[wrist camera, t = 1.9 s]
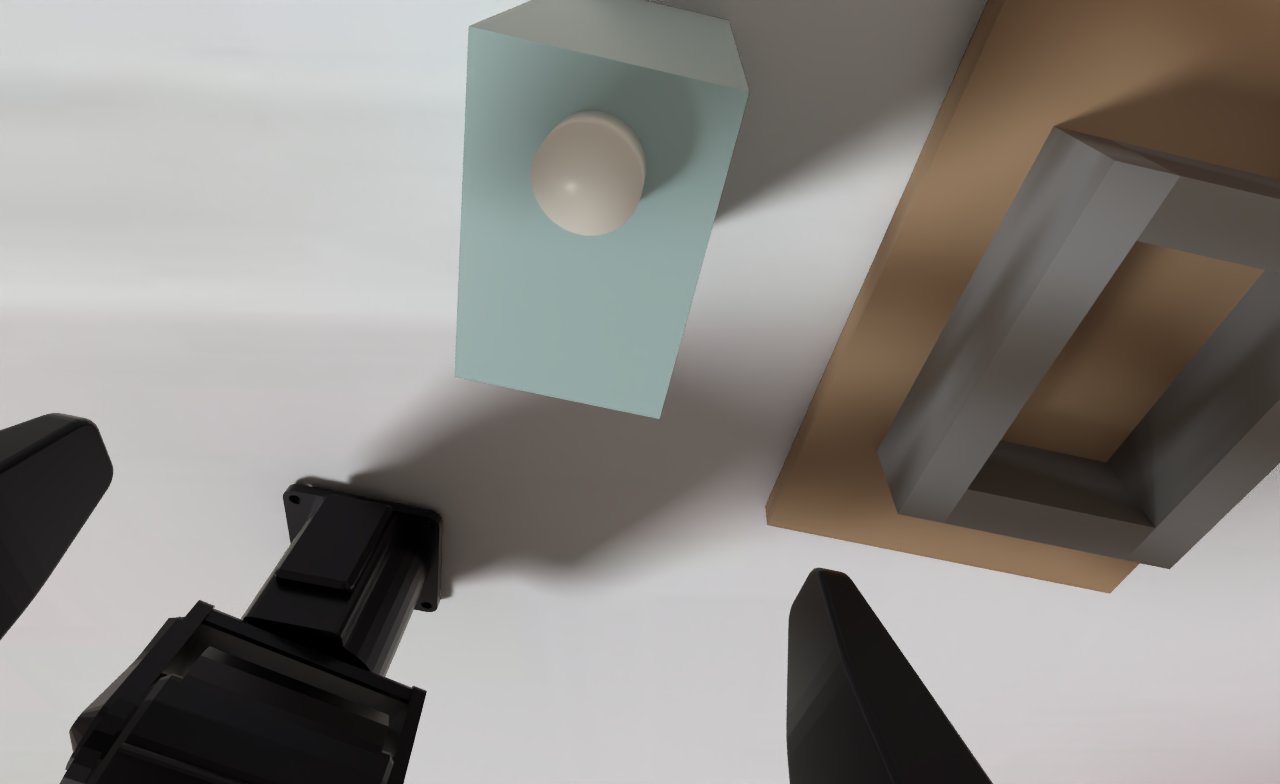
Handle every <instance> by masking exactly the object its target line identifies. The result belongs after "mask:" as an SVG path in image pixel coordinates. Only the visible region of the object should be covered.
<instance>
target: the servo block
mask: <svg viewBox="0 0 1280 784" xmlns="http://www.w3.org/2000/svg"><path fill="white" fill-rule="evenodd" d="M749 92H750V91H749V88H748V85H747V81H746V78H745V75H744V71H743V68H742V64H741V61H740V58H739V54H738V51H737V48H736V44H735V41H734V37H733V34H732V31H731V27H730V24H729V21H728V20H725V19H721V18H717V17H712V16H708V15H704V14H700V13H696V12H692V11H687V10H683V9H679V8H675V7H671V6H666V5H662V4H658V3H654V2H650V1H645V0H531V1H529V2H526V3H524V4H521V5H519V6H516V7H514V8H512V9H509V10H507V11H504V12H502V13H500V14H497V15H495V16H492V17H490V18H487V19H485V20H483V21H480V22H478V23H475V24H473V25H471V26H469V33H468V58H467V83H466V108H465V133H464V157H463V182H462V207H461V232H460V257H459V282H458V307H457V332H456V357H455V377H457V378H462V379H467V380H472V381H477V382H482V383H487V384H491V385H496V386H501V387H506V388H511V389H516V390H521V391H525V392H530V393H535V394H540V395H545V396H550V397H555V398H559V399H564V400H569V401H574V402H579V403H584V404H589V405H593V406H598V407H603V408H608V409H613V410H618V411H623V412H628V413H632V414H637V415H642V416H647V417H652V418H657V419H660V416H661V412H662V408H663V405H664V401H665V397H666V394H667V390H668V387H669V383H670V379H671V376H672V372H673V368H674V365H675V361H676V357H677V354H678V350H679V347H680V343H681V339H682V336H683V332H684V328H685V325H686V321H687V318H688V314H689V310H690V307H691V303H692V299H693V296H694V292H695V288H696V285H697V281H698V278H699V274H700V270H701V267H702V263H703V259H704V256H705V252H706V248H707V245H708V241H709V238H710V234H711V230H712V227H713V223H714V219H715V216H716V212H717V209H718V205H719V201H720V198H721V194H722V190H723V187H724V183H725V179H726V176H727V172H728V169H729V165H730V161H731V158H732V154H733V150H734V147H735V143H736V139H737V136H738V132H739V129H740V125H741V121H742V118H743V114H744V110H745V107H746V103H747V100H748V96H749Z"/></svg>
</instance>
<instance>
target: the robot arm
mask: <svg viewBox="0 0 1280 784" xmlns="http://www.w3.org/2000/svg"><path fill="white" fill-rule="evenodd" d="M112 477H113V465H112V462H111V460H110V457H109V455H108V452H107V450H106V447H105V445H104V442H103V439H102V437H101V434H100V432H99V429H98V427H97V426H96V424H95V423H93V422H92V421H91V420H89V419H86V418H81V417H76V416H72V415H67V414H61V413H51V414H46V415H43V416H40V417H37V418H34V419H32V420H29V421H26V422H23V423H20V424H17V425H14V426H12V427H9V428H6V429H3V430H0V640H1V639H2V637H3V636H4V635H5V634H6V633H7V631H8V630H9V629H10V628H11V626H12V625H13V624H14V623H15V622H16V620H17V619H18V618H19V617H20V615H21V614H22V613H23V612H24V610H25V609H26V608H27V607H28V605H29V604H30V603H31V601H32V600H33V599H34V598H35V596H36V595H37V593H38V592H39V591H40V589H41V588H42V586H43V585H44V583H45V582H46V581H47V579H48V578H49V576H50V575H51V573H52V572H53V570H54V569H55V567H56V566H57V564H58V563H59V561H60V560H61V558H62V557H63V555H64V554H65V552H66V551H67V549H68V548H69V546H70V545H71V543H72V542H73V540H74V539H75V537H76V536H77V534H78V533H79V531H80V530H81V528H82V527H83V525H84V524H85V522H86V521H87V519H88V518H89V516H90V515H91V513H92V512H93V510H94V509H95V507H96V506H97V504H98V503H99V501H100V500H101V498H102V497H103V495H104V494H105V492H106V491H107V489H108V487H109V485H110V483H111V481H112ZM283 501H284V507H285V512H286V518H287V524H288V530H289V536H290V542H291V545H290V546H289V548H288V549H287V551H286V552H285V554H284V555H283V557H282V558H281V560H280V561H279V563H278V564H277V566H276V567H275V569H274V570H273V572H272V573H271V575H270V576H269V578H268V579H267V581H266V582H265V584H264V585H263V587H262V588H261V590H260V591H259V593H258V594H257V596H256V597H255V599H254V600H253V602H252V603H251V605H250V606H249V608H248V609H247V611H246V612H245V614H244V615H243V616H242V618H241V619H238V618H236V617H233V616H231V615H228V614H226V613H223V612H221V611H218V610H216V609H214V607H215V606H213V605H211V604H208V603H206V602H204V601H201V600H199V601H198V602H197V603H196V605H195V606H194V607H193V608H192V609H191V610H190V612H189V613H188V614H187V615H186V616H185V617H178V618H169V619H168V620H167V621H166V622H165V624H164V625H163V626H162V628H161V629H160V630H159V631H158V633H157V634H156V635H155V637H154V638H153V639H152V640H151V642H150V643H149V644H148V646H147V647H146V648H145V649H144V651H143V652H142V653H141V654H140V655H139V657H138V658H137V659H136V660H135V661H134V662H133V663H132V664H131V665H130V666H129V667H128V668H127V669H126V670H125V671H124V672H123V673H122V674H121V675H120V676H119V677H118V678H117V679H116V680H115V681H114V682H113V683H112V684H111V685H110V686H109V687H108V688H107V689H106V690H105V691H104V692H103V693H102V694H101V695H100V696H99V697H98V698H97V699H96V700H95V701H94V702H93V703H91V704H90V705H89V706H88V707H87V708H86V709H85V710H84V711H83V712H82V713H81V715H80V716H79V717H78V718H77V720H76V721H75V723H74V724H73V726H72V727H71V729H70V731H69V733H70V738H71V744H72V749H73V754H72V756H71V757H70V759H69V761H68V763H67V766H66V770H67V772H66V773H65V775H64V777H63V779H62V780H61V782H60V784H403V783H404V779H405V775H406V771H407V767H408V763H409V759H410V755H411V751H412V747H413V743H414V740H415V736H416V732H417V728H418V724H419V720H420V716H421V712H422V708H423V704H424V700H425V696H426V692H427V691H425V690H423V689H420V688H418V687H415V686H413V687H412V688H411V687H408V686H406V685H403V684H401V683H398V682H396V681H393V680H391V679H388V678H386V677H385V676H386V673H387V671H388V669H389V666H390V664H391V662H392V659H393V657H394V654H395V652H396V650H397V647H398V645H399V643H400V640H401V638H402V636H403V633H404V631H405V629H406V626H407V624H408V621H409V619H410V617H411V614H412V612H413V610H420V611H425V612H433V611H435V610H436V609H437V607H438V604H439V602H440V587H441V556H442V524H443V520H442V517H441V516H440V514H438V513H437V512H435V511H432V510H427V509H422V508H417V507H412V506H407V505H402V504H397V503H391V502H386V501H381V500H376V499H371V498H366V497H361V496H356V495H351V494H345V493H340V492H335V491H330V490H325V489H320V488H315V487H310V486H305V485H300V484H293V485H290V486H289V487H288V489H287V490H286V491H285V493H284V494H283ZM428 521H429V522H428ZM787 755H788V768H789V779H790V784H993V783H992V782H991V780H990V779H989V777H988V776H987V774H986V773H985V771H984V770H983V769H982V767H981V766H980V764H979V763H978V761H977V760H976V758H975V757H974V756H973V754H972V753H971V751H970V750H969V748H968V747H967V746H966V744H965V743H964V741H963V740H962V738H961V737H960V735H959V734H958V733H957V731H956V730H955V728H954V727H953V725H952V724H951V722H950V721H949V720H948V718H947V717H946V715H945V714H944V712H943V711H942V710H941V708H940V707H939V705H938V704H937V702H936V701H935V699H934V698H933V697H932V695H931V694H930V692H929V691H928V689H927V688H926V686H925V685H924V684H923V682H922V681H921V679H920V678H919V676H918V675H917V673H916V672H915V671H914V669H913V668H912V666H911V665H910V663H909V662H908V661H907V659H906V658H905V656H904V655H903V653H902V652H901V650H900V649H899V648H898V646H897V645H896V643H895V642H894V640H893V639H892V637H891V636H890V635H889V633H888V632H887V630H886V629H885V627H884V626H883V624H882V623H881V622H880V620H879V619H878V617H877V616H876V614H875V613H874V612H873V610H872V609H871V607H870V606H869V604H868V603H867V601H866V600H865V599H864V597H863V596H862V594H861V593H860V591H859V590H858V588H857V587H856V586H855V584H854V583H853V581H852V580H851V579H850V577H848V576H847V575H846V574H845V573H842V572H838V571H833V570H829V569H824V568H815V569H813V570H812V571H811V572H810V574H809V575H808V577H807V579H806V581H805V583H804V584H803V586H802V588H801V590H800V592H799V593H798V595H797V597H796V599H795V600H794V602H793V604H792V607H791V610H790V615H789V628H788V674H787Z"/></svg>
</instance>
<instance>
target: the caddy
mask: <svg viewBox="0 0 1280 784" xmlns="http://www.w3.org/2000/svg"><path fill="white" fill-rule="evenodd" d="M1279 463H1280V0H988V2H987V4H986V6H985V9H984V11H983V13H982V15H981V18H980V20H979V22H978V25H977V27H976V29H975V31H974V34H973V36H972V38H971V40H970V43H969V45H968V47H967V50H966V52H965V54H964V56H963V59H962V61H961V63H960V65H959V68H958V70H957V72H956V75H955V77H954V79H953V81H952V84H951V86H950V88H949V90H948V93H947V95H946V97H945V100H944V102H943V104H942V106H941V109H940V111H939V113H938V115H937V118H936V120H935V122H934V124H933V127H932V129H931V131H930V134H929V136H928V138H927V140H926V143H925V145H924V147H923V149H922V152H921V154H920V156H919V159H918V161H917V163H916V165H915V168H914V170H913V172H912V174H911V177H910V179H909V181H908V184H907V186H906V188H905V190H904V193H903V195H902V197H901V199H900V202H899V204H898V206H897V208H896V211H895V213H894V215H893V218H892V220H891V222H890V224H889V227H888V229H887V231H886V233H885V236H884V238H883V240H882V243H881V245H880V247H879V249H878V252H877V254H876V256H875V258H874V261H873V263H872V265H871V268H870V270H869V272H868V274H867V277H866V279H865V281H864V283H863V286H862V288H861V290H860V293H859V295H858V297H857V299H856V302H855V304H854V306H853V308H852V311H851V313H850V315H849V317H848V320H847V322H846V324H845V327H844V329H843V331H842V333H841V336H840V338H839V340H838V342H837V345H836V347H835V349H834V352H833V354H832V356H831V358H830V361H829V363H828V365H827V367H826V370H825V372H824V374H823V377H822V379H821V381H820V383H819V386H818V388H817V390H816V392H815V395H814V397H813V399H812V401H811V404H810V406H809V408H808V411H807V413H806V415H805V417H804V420H803V422H802V424H801V426H800V429H799V431H798V433H797V436H796V438H795V440H794V442H793V445H792V447H791V449H790V451H789V454H788V456H787V458H786V461H785V463H784V465H783V467H782V470H781V472H780V474H779V476H778V479H777V481H776V483H775V486H774V488H773V490H772V492H771V495H770V497H769V499H768V501H767V504H766V506H765V508H766V517H767V525H770V526H775V527H780V528H785V529H790V530H795V531H800V532H805V533H810V534H815V535H820V536H825V537H830V538H835V539H840V540H845V541H850V542H855V543H860V544H865V545H870V546H875V547H880V548H885V549H890V550H895V551H900V552H905V553H910V554H915V555H920V556H925V557H930V558H935V559H940V560H945V561H950V562H955V563H960V564H965V565H970V566H975V567H980V568H985V569H990V570H995V571H1000V572H1005V573H1010V574H1015V575H1020V576H1025V577H1030V578H1035V579H1040V580H1045V581H1050V582H1055V583H1060V584H1065V585H1070V586H1075V587H1080V588H1085V589H1090V590H1095V591H1100V592H1105V593H1111V592H1112V591H1113V590H1114V589H1115V588H1116V587H1117V586H1118V585H1119V584H1120V583H1121V582H1122V581H1123V580H1124V579H1125V578H1126V577H1127V576H1128V575H1129V574H1130V573H1131V571H1132V570H1133V569H1134V568H1135V567H1136V566H1137V565H1138V564H1139V563H1142V564H1147V565H1152V566H1157V567H1162V568H1167V569H1170V568H1171V567H1172V566H1173V565H1174V564H1175V563H1176V562H1178V561H1179V560H1180V559H1181V558H1182V557H1183V556H1184V555H1185V554H1186V553H1187V552H1188V551H1189V550H1190V549H1191V548H1192V547H1193V546H1194V545H1195V544H1196V543H1197V542H1198V541H1199V540H1200V539H1201V538H1202V537H1203V536H1204V535H1205V534H1207V533H1208V532H1209V531H1210V530H1211V529H1212V528H1213V527H1214V526H1215V525H1216V524H1217V523H1218V522H1219V521H1220V520H1221V519H1222V518H1223V517H1224V516H1225V515H1226V514H1227V513H1228V512H1229V511H1230V510H1231V509H1232V508H1233V507H1234V506H1235V505H1237V504H1238V503H1239V502H1240V501H1241V500H1242V499H1243V498H1244V497H1245V496H1246V495H1247V494H1248V493H1249V492H1250V491H1251V490H1252V489H1253V488H1254V487H1255V486H1256V485H1257V484H1258V483H1259V482H1260V481H1261V480H1262V479H1263V478H1264V477H1266V476H1267V475H1268V474H1269V473H1270V472H1271V471H1272V470H1273V469H1274V468H1275V467H1276V466H1277V465H1278V464H1279Z"/></svg>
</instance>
